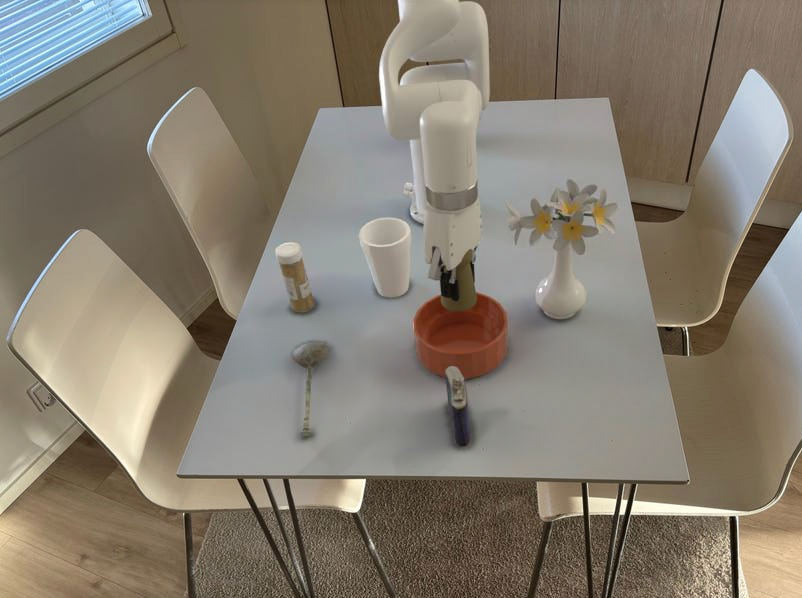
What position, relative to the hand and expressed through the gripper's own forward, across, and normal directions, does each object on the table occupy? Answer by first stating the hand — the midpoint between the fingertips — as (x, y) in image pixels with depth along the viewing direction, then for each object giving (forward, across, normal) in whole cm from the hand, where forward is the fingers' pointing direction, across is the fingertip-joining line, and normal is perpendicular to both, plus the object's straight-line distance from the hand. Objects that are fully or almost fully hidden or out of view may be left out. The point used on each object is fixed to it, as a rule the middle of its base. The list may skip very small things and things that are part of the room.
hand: (458, 288), depth 113 cm
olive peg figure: (+2, 0, 0) cm, 2 cm away
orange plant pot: (+13, 0, 0) cm, 13 cm away
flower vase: (+14, -17, +10) cm, 24 cm away
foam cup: (+14, -8, -21) cm, 26 cm away
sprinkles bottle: (+14, +5, -33) cm, 36 cm away
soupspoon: (+14, +21, -18) cm, 31 cm away
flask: (+14, +15, +9) cm, 22 cm away
